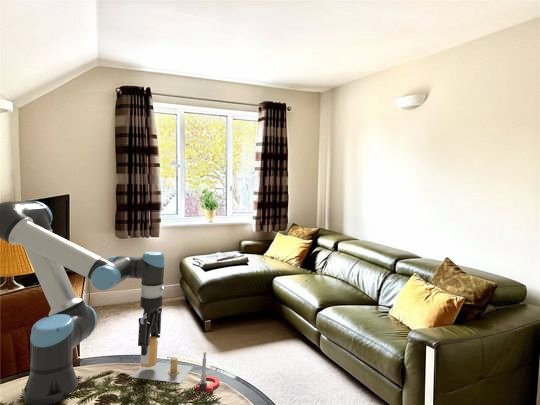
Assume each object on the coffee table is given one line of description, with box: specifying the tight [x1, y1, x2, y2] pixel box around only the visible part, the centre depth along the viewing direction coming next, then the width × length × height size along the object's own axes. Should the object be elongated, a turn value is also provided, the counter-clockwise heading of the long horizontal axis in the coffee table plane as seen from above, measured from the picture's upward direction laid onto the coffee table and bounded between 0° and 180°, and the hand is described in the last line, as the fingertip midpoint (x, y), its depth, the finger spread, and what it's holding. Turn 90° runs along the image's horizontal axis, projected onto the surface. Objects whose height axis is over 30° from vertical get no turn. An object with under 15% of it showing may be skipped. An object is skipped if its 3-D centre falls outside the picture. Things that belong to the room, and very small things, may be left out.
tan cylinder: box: [139, 335, 159, 367], centre depth 132 cm, size 5×5×9 cm
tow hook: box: [194, 351, 220, 393], centre depth 127 cm, size 8×13×9 cm
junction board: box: [131, 356, 194, 384], centre depth 131 cm, size 18×12×6 cm, turn 82°
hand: (148, 359), depth 132 cm, fingers closed on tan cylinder, 5 cm apart
